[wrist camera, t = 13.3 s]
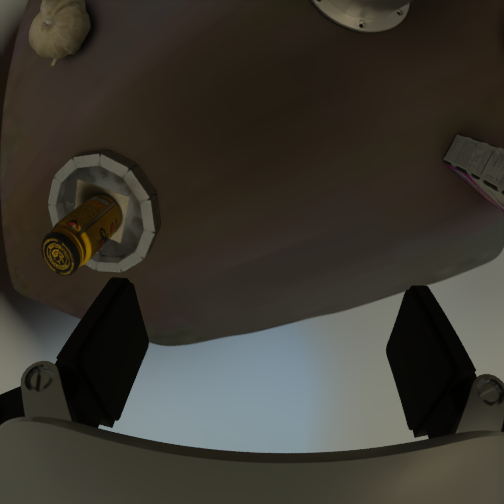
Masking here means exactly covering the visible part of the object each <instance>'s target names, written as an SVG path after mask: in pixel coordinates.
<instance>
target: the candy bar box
mask: <svg viewBox="0 0 504 504" xmlns="http://www.w3.org/2000/svg"><path fill="white" fill-rule="evenodd" d="M442 162H443V163H445V164H446V165H447V166H448V167H449V168H451V169H452V170H453V171H454V172H455V173H457V174H458V175H459V176H460V177H461V178H463V179H464V180H465V181H466V182H467V183H468V184H469V185H471V186H472V187H473V188H474V189H475V190H476V191H477V192H478V193H479V194H480V195H482V196H483V197H484V198H485V199H486V200H487V201H488V202H490V203H491V204H493V205H494V206H496V207H497V208H499V209H500V210H502V211H503V212H504V149H502V148H499V147H496V146H493V145H490V144H488V143H485V142H482V141H479V140H476V139H473V138H470V137H467V136H463V135H460V134H457V135H456V136H455V138H454V140H453V142H452V144H451V146H450V148H449V150H448V151H447V153H446V155H445V157H444V159H443V160H442Z"/></svg>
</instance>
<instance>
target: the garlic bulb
mask: <svg viewBox="0 0 504 504" xmlns="http://www.w3.org/2000/svg"><path fill="white" fill-rule="evenodd" d="M40 10H41V11H40V13H39V14H38V15H37V16H36V17H35V19H34V20H33V22H32V24H31V27H30V31H29V43H30V46H31V47H32V48H33V49H34V50H35V51H36V52H37V53H38V55H40V56H41V57H43V58H53V59H54V61H53V62H52V63H51V66H54V65H56V64H57V62H58V60H59V59H62V58H64V57H65V56H67V55H69V54H75V53H76V51H78V50H79V49H80V47H81V44H82V43H83V41H84V39H85V38H86V36H87V34H88V32H89V30H90V27H91V26H90V20H89V15H88V14H87V12H86V6H85V1H84V0H43V1H42V3H41V8H40Z"/></svg>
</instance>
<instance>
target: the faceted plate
mask: <svg viewBox="0 0 504 504" xmlns="http://www.w3.org/2000/svg"><path fill="white" fill-rule="evenodd" d="M135 166H136V163H134V162H133V161H131V160H129V159H127V158H125V157H123V156H121V155H119V154H117V153H115V152H113V151H111V150H110V151H108V150H103V151H95V152H88V153H82V154H80V155H77V156H75V157H73V158H71V159H70V160H69V161H68V162H67V163H66V164H65V165H64V166H63V167H62V168H61V169H60V171H59V172H58V173H57V174H56V175H55V177H54V178H53V182H52V186H51V191H50V196H49V201H48V204H49V205H48V207H49V212H50V216H51V220H52V224H53V228H54V226H55V224H56V223H57V222H58V221H60V220H61V219H62V218H64V217H65V216H66V215H67V214H69V213H70V212H72V211H73V210H74V209H75V200H76V190H77V179H79V180H81V181H84V182H88V183H91V184H93V185H96V186H99V187H102V188H105V189H108V190H111V191H114V192H116V193H119V194H122V195H124V196H127V197H129V201H128V206H127V212H126V218H125V223H124V228H123V233H122V239H121V243H119V242H117V241H115V240H112V239H109V240H108V241H107V242H106V243H105V244H104V245H103V246H102V247H101V248H100V249H99V250H98V251H97V252H96V254H95V255H94V256H93V257H92V258H91V259H90V260H89V261H88V262H87V263H86V265H87V266H89V267H91V268H92V269H94V270H96V269H97V271H108V272H122V271H123V272H124V271H125V270H127V269H129V268H130V267H132V266H134V265H135V264H137V263H139V262H140V261H142V260H143V259H144V258H145V257H146V255H147V254H148V252H149V251H150V249H151V247H152V245H153V242H154V240H155V238H156V235H157V233H158V231H159V229H160V224H161V221H160V213H159V205H158V197H157V194H154V193H155V192H156V191H155V189H154V188H153V186H152V185H151V183H150V182H149V180H148V179H147V177H146V176H145V174H144V173H143V171H142V170H141V168H140V167H139V165H138V166H136V167H135ZM81 167H82V168H81ZM124 254H125V255H124Z"/></svg>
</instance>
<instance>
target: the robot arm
mask: <svg viewBox="0 0 504 504" xmlns="http://www.w3.org/2000/svg"><path fill="white" fill-rule="evenodd" d="M412 1H414V0H321V2H318V1H317V0H311V2H312V3H313V4H314V5H315V7H316V8H317V9H318V10H319V11H320V12H321V13H322V14H323V15H324V16H325V17H327V18H328V19H329V20H331V21H332V22H334V23H336V24H338V25H340V26H341V27H344V28H347V29H349V30H352V31H357V32H362V33H377V32H383V31H386V30H389V29H391V28H393V27H395V26H396V25H398V24H399V23H400V22H402V20H403V19H404V18H405V17H406V15H407V12H408V10H409V5H410V2H412ZM397 13H398V14H399V15H398V14H397ZM359 25H362V28H360V27H359ZM148 344H149V339H148V335H147V332H146V328H145V325H144V321H143V318H142V314H141V311H140V307H139V303H138V299H137V295H136V291H135V287H134V284H133V283H130V281H129V280H128V279H127V278H117V277H113V278H111V279H110V280H109V281H108V283H107V284H106V285H105V287H104V288H103V290H102V291H101V292H100V294H99V295H98V297H97V298H96V299H95V301H94V302H93V304H92V305H91V306H90V308H89V309H88V311H87V312H86V314H85V315H84V316H83V318H82V319H81V321H80V322H79V324H78V325H77V327H76V328H75V330H74V331H73V333H72V334H71V336H70V337H69V339H68V340H67V342H66V343H65V345H64V346H63V348H62V350H61V352H60V353H59V354H58V356H57V361H56V363H55V365H54V364H53V363H51V362H49V361H40V362H36V363H34V364H32V365H31V366H29V367H28V368H27V369H26V370H25V372H24V373H23V375H22V378H21V386H20V387H17V388H15V389H13V390H10V391H8V392H5V393H3V394H1V395H0V504H504V383H503V382H502V381H501V380H500V379H499V378H497V377H496V376H493V375H490V374H483V375H480V376H478V377H476V374H475V371H476V369H475V367H474V365H473V363H472V361H471V359H470V358H469V356H468V354H467V352H466V350H465V348H464V346H463V345H462V343H461V341H460V339H459V337H458V335H457V334H456V332H455V330H454V329H453V327H452V325H451V323H450V322H449V320H448V318H447V316H446V315H445V313H444V311H443V310H442V308H441V307H440V305H439V303H438V302H437V300H436V298H435V297H434V295H433V294H432V292H431V291H430V289H429V287H428V286H411V287H410V289H409V290H406V292H405V294H404V297H403V300H402V303H401V306H400V309H399V313H398V316H397V318H396V321H395V324H394V327H393V330H392V333H391V335H390V339H389V341H388V344H387V347H386V354H387V358H388V361H389V364H390V367H391V370H392V373H393V377H394V380H395V383H396V386H397V390H398V393H399V396H400V399H401V403H402V407H403V410H404V414H405V417H406V421H407V425H408V427H409V429H410V430H413V433H414V437H415V438H416V437H421V436H425V435H428V438H429V439H426V440H421V441H415V442H410V443H404V444H398V445H391V446H384V447H377V448H369V449H360V450H350V451H337V452H320V453H252V452H236V451H223V450H213V449H204V448H196V447H188V446H181V445H174V444H168V443H163V442H157V441H152V440H147V439H142V438H137V437H133V436H128V435H124V434H119V433H115V432H111V431H107V430H103V429H99V428H98V427H99V424H100V425H104V426H107V427H111V428H112V427H113V424H114V422H115V420H116V421H118V420H119V419H120V417H121V414H122V411H123V409H124V406H125V403H126V401H127V398H128V396H129V393H130V391H131V388H132V386H133V383H134V381H135V378H136V376H137V373H138V371H139V368H140V366H141V363H142V361H143V359H144V356H145V354H146V351H147V349H148Z"/></svg>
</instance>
